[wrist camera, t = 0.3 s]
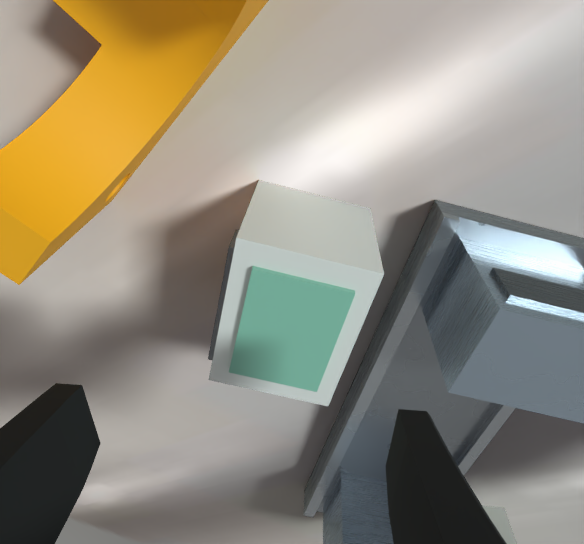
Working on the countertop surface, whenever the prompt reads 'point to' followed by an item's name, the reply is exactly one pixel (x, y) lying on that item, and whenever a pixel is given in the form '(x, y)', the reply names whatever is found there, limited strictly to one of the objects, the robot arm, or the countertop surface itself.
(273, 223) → the block
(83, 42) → the countertop surface
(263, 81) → the countertop surface
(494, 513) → the block
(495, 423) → the rail
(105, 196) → the yellow stepped block
